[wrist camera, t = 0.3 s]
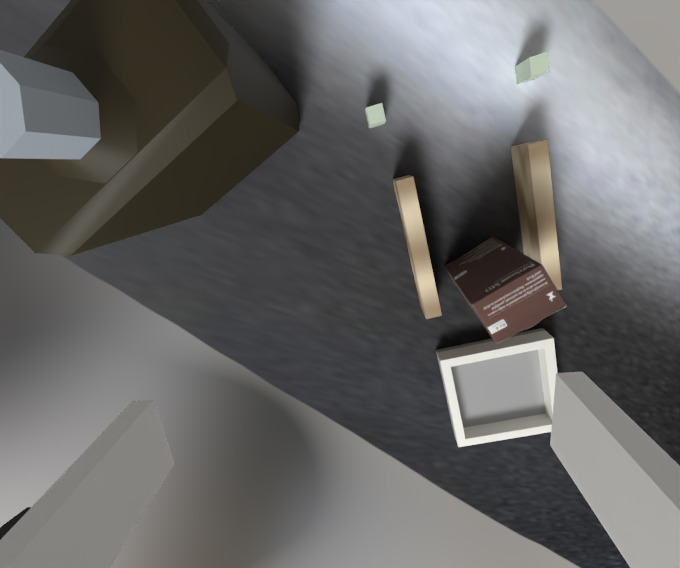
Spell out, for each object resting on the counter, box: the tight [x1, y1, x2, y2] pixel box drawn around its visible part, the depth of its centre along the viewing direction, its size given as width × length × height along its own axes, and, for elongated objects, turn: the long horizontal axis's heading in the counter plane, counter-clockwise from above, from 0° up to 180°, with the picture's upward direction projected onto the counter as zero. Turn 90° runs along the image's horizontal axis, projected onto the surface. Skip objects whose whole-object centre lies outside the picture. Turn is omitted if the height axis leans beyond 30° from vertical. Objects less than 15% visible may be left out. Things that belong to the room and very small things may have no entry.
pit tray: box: [436, 328, 557, 447], centre depth 42 cm, size 12×12×2 cm
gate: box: [365, 52, 550, 128], centre depth 33 cm, size 2×16×3 cm, turn 105°
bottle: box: [0, 0, 300, 256], centre depth 25 cm, size 8×16×25 cm, turn 127°
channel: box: [393, 139, 562, 319], centre depth 36 cm, size 14×13×4 cm
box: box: [445, 236, 567, 343], centre depth 33 cm, size 6×4×12 cm
